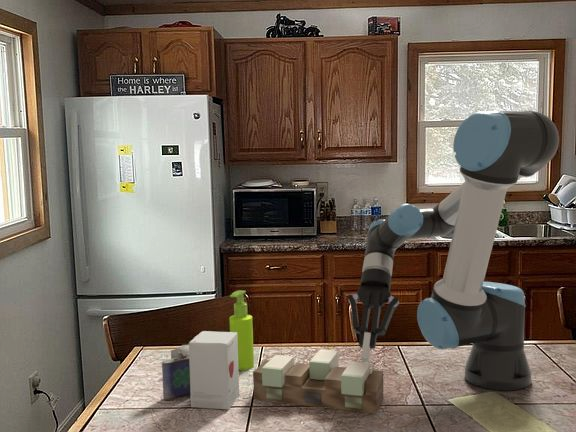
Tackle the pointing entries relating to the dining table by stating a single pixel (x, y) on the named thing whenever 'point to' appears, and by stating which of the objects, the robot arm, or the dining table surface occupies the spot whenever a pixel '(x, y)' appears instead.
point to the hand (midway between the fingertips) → (365, 359)
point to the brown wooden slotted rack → (320, 390)
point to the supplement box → (214, 370)
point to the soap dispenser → (242, 331)
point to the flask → (176, 377)
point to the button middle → (323, 363)
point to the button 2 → (355, 378)
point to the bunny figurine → (174, 353)
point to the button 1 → (276, 370)
